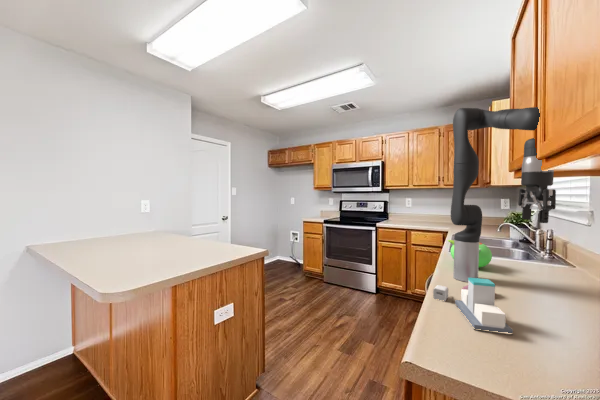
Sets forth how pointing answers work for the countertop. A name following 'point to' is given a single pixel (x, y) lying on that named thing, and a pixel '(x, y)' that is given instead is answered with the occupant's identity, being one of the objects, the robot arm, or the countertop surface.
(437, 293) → the usb wall charger
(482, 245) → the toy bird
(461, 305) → the board
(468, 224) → the robot arm
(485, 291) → the teal and white module
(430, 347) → the countertop surface
